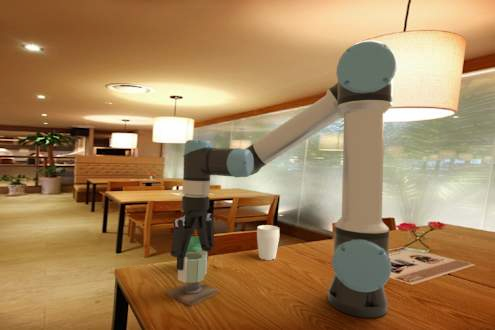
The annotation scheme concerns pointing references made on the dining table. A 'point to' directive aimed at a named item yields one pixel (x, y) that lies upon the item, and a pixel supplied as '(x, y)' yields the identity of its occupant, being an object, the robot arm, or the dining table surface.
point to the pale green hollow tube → (195, 267)
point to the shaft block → (192, 293)
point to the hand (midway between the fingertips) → (192, 276)
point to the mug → (194, 245)
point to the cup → (267, 241)
